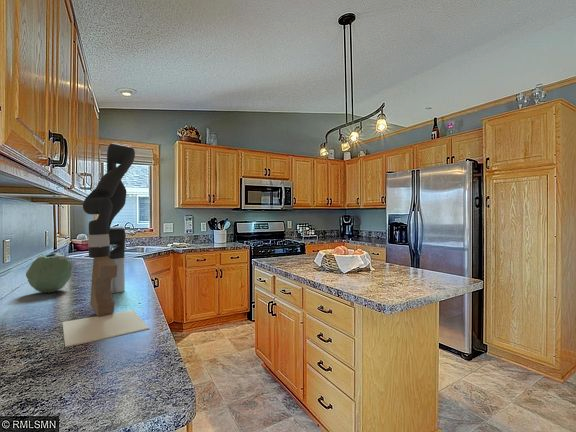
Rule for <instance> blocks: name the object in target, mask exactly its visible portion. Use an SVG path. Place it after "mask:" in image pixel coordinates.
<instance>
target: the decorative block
mask: <svg viewBox="0 0 576 432" xmlns="http://www.w3.org/2000/svg"><path fill="white" fill-rule="evenodd" d="M92 259H93V260H92V271H91V273H92V274H91V275H92V276H91V288H90V301H89V305H90V307H91V308H92V309H93V311H94V313H95V315H96V316H98V317H100V316H104V315H109V314H113V313H115V302H114V299H113V295H112V294H113V293H111V280H112V278H115V277H116V276H117V265H116V264H115V263H114V262H113V261H112V260H111V259H110V257H108V256H106V257H94V258H92Z"/></svg>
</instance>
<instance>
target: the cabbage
mask: <svg viewBox="0 0 576 432" xmlns="http://www.w3.org/2000/svg"><path fill="white" fill-rule="evenodd" d="M72 267H73V261H72V260H69V257H68V256H66V255H64V254H63V253H62V252H58V251H57V252H56V253H50V254H41V255H40V256H38V257H37V258H36V259H34V260H33V261H32V263H31V264H30V266H29V268H28V269H27V270H26V273H25V276H26V279H27V283H28V284H29V285H30V287H32V288H33V289H34V290H35V291H37V292H39V293H44V294H47V292H48V294H49V293H50V292H51V293H54V292H57V291H59V290H61V289H62V288H64V287H65V285H66V284H68V282H69V281H70V279H71V277H72V275H73V273H72V269H73V268H72Z"/></svg>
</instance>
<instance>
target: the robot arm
mask: <svg viewBox="0 0 576 432" xmlns="http://www.w3.org/2000/svg"><path fill="white" fill-rule="evenodd" d="M135 157H136V152H135V149H134V148H133V147H132V146H128V145H124V144H119V143H115V142H112V143H110V144H109V145H108V148H107V151H106V173H104V174H103V175H102V176H101V177H100V179H99V181H98V183H97V185H96V187H95V189H93V190H92V191H91V192H90V193H89V194H88V195H87V196H86V197H85V199H84V200H83V201H82V202H83V203H82V209H83V212H85V213H86V214H88V215H98V217H97V218H96V219H94V220H90V221H89V223H88V242H87V243H88V245H87V246H88V257H89V258H90V259H93V258H94V257H106V256H108V257H110V259H111V260H112V261H113V262H114V263H115V264H116V265H117V276H116V277H115V278H112V280H111V294H115V293H116V294H118V293H122V292H125V290H126V289H125V288H126V287H125V280H126V279H125V278H126V277H125V276H126V273H125V272H126V271H125V269H126V268H125V267H126V266H125V252H126V251H125V248H126V247H125V246H126V230H125V228H124V227H123V226H111V225H112V222H113V220H115V219H114V218H115V217H116V216H117V215H118V214H119V213H120V211H121V210H122V209H123V208H124V206H126V198H127V189H126V186H125V184H124V182H123V180H122V179H123V178H124V176H125V175H126V173H127V172H128V171H129V169H130V168H131V166H132V165H133V163H134V161H135ZM117 164H118V165H117ZM115 245H116V246H115ZM111 246H115V247H114V248H112V249H110V247H111Z"/></svg>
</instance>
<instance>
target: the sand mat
mask: <svg viewBox="0 0 576 432" xmlns="http://www.w3.org/2000/svg"><path fill="white" fill-rule="evenodd" d="M146 330H150V327H149V326H148V325H147V323H146V322H145V321H144V320H143V319H142V318H141V317H140V316H139V315H138V314H137V312H136V311H135V309H130V310H123V311H119V312H114V313H113V314H109V315H104V316H100V317H98V316H97V315H96V316H91V317H90V316H89V317H85V318H80V319H74V320H68V321H62V333H63V339H64V340H63V341H64V348H68V347H73V345H74V346H77V345H78V346H79V345H82V344H87V343H91V342H96V341H102V340H105V339H111V338H115V337H119V336H123V335H128V334H132V333H137V332H143V331H146Z"/></svg>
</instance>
